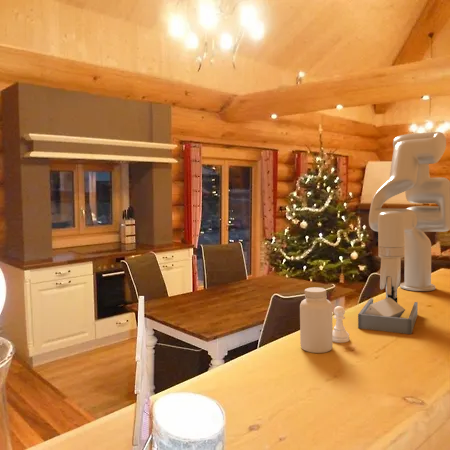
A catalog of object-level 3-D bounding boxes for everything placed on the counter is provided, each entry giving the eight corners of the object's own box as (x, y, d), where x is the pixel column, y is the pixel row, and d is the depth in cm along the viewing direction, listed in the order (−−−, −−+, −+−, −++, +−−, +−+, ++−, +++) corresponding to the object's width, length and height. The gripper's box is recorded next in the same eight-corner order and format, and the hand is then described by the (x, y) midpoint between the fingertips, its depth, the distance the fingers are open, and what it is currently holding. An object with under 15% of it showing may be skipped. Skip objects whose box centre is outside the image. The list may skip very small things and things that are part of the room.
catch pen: (370, 310, 147) (370, 298, 146) (417, 314, 140) (417, 302, 140) (358, 328, 129) (358, 314, 129) (411, 334, 122) (411, 319, 122)
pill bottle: (297, 351, 112) (296, 292, 111) (304, 341, 119) (303, 285, 118) (329, 355, 109) (329, 294, 108) (334, 344, 116) (334, 286, 115)
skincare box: (383, 306, 140) (361, 315, 132) (390, 295, 137) (369, 303, 129) (399, 320, 136) (378, 330, 128) (407, 309, 134) (386, 318, 126)
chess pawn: (326, 338, 121) (325, 305, 121) (342, 335, 123) (342, 303, 122) (336, 344, 117) (336, 309, 116) (353, 341, 118) (353, 307, 117)
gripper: (382, 247, 147) (382, 302, 149) (374, 255, 134) (374, 315, 136) (407, 248, 143) (407, 304, 145) (401, 256, 130) (401, 318, 132)
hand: (391, 310), depth 140 cm, fingers closed
